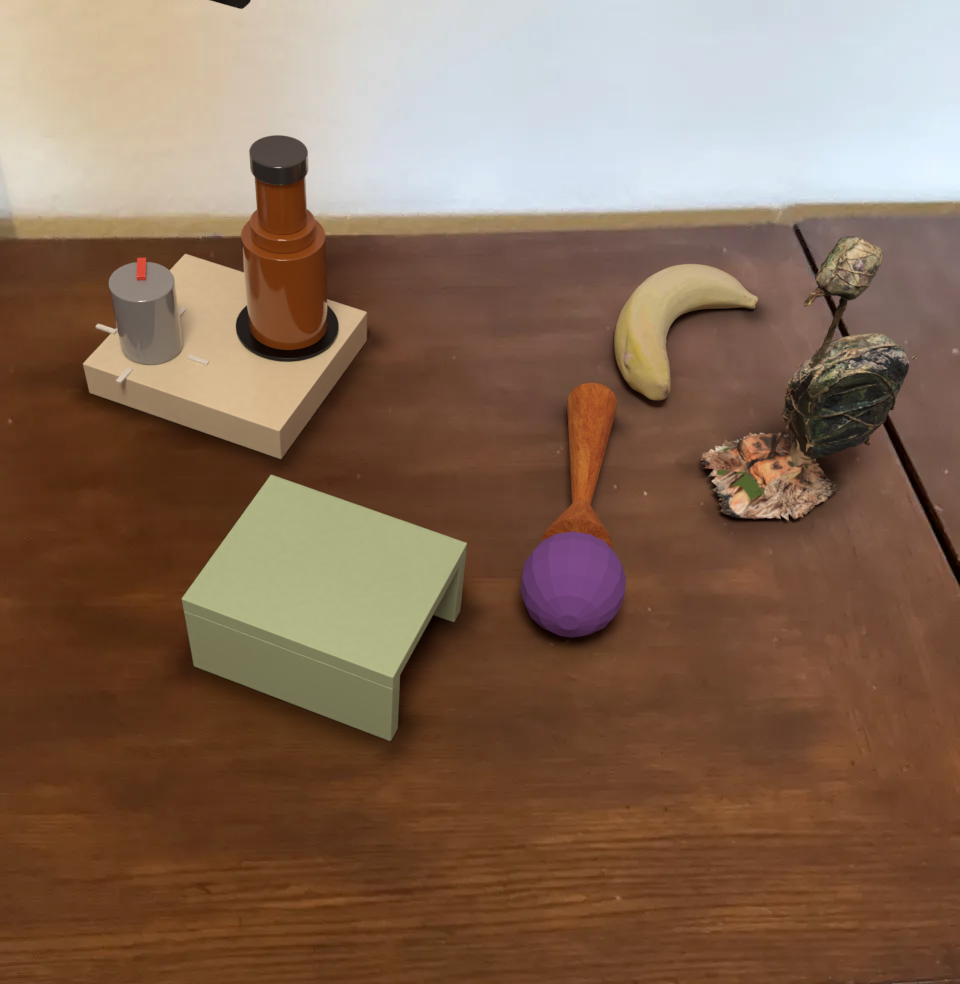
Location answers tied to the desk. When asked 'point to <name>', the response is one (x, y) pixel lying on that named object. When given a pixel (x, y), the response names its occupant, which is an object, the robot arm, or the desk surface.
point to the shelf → (322, 603)
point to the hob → (225, 367)
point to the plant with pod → (816, 405)
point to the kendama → (578, 534)
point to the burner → (286, 355)
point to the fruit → (668, 320)
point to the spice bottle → (284, 250)
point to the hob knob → (146, 312)
